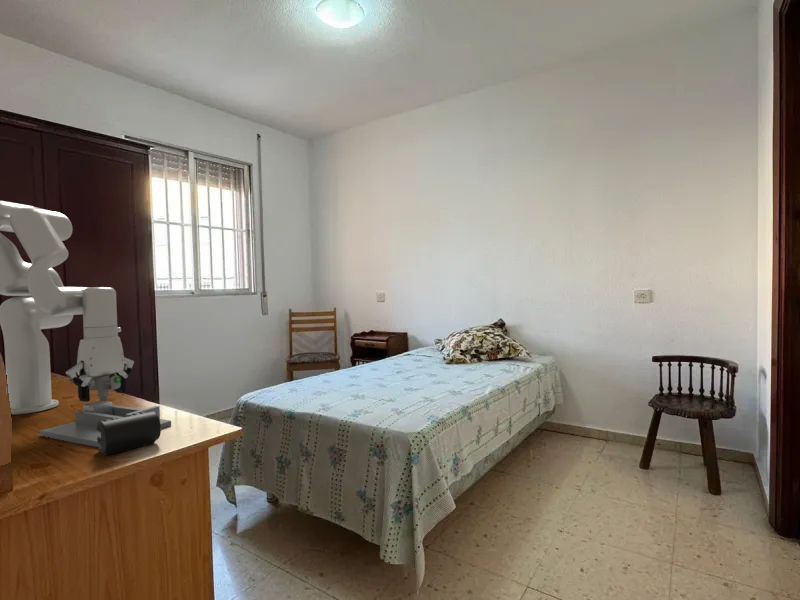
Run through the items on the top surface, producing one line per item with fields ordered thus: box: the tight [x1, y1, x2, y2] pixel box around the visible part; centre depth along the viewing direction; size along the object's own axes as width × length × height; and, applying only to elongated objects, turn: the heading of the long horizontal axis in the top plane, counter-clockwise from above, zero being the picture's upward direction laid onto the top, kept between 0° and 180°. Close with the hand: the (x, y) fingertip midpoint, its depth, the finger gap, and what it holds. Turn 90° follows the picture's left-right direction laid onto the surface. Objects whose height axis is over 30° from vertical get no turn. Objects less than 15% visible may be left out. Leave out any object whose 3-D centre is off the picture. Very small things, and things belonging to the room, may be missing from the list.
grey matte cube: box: [82, 400, 113, 415], centre depth 107 cm, size 4×4×4 cm
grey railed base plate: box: [39, 404, 172, 449], centre depth 102 cm, size 22×16×5 cm
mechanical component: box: [87, 374, 121, 401], centre depth 118 cm, size 3×10×10 cm, turn 78°
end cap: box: [96, 412, 162, 456], centre depth 91 cm, size 10×7×7 cm
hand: (103, 396), depth 118 cm, fingers open, 9 cm apart
